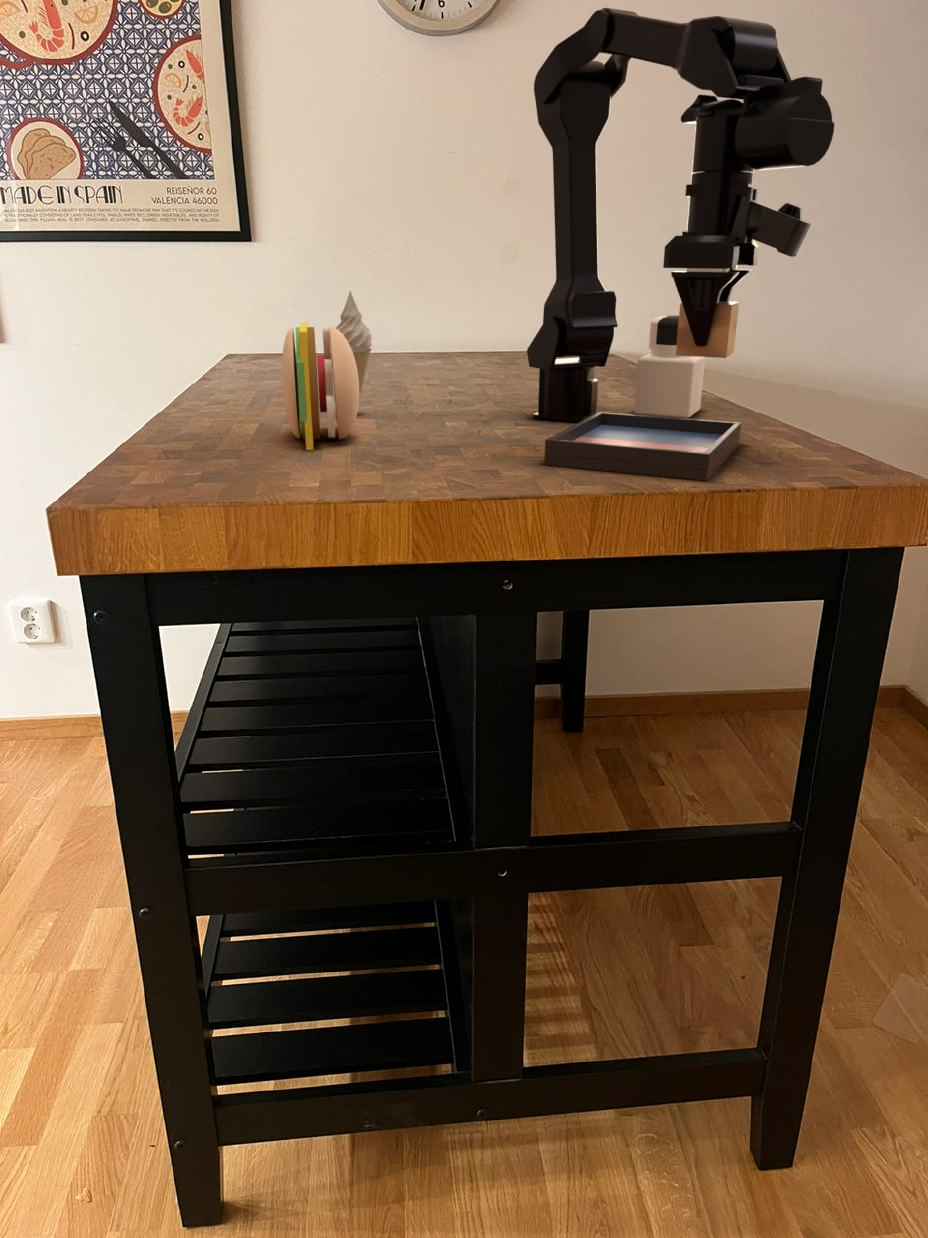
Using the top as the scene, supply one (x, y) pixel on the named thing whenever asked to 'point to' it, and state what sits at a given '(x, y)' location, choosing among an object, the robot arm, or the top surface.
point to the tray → (645, 445)
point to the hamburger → (304, 385)
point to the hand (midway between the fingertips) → (705, 343)
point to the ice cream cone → (356, 337)
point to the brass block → (719, 337)
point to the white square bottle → (668, 375)
